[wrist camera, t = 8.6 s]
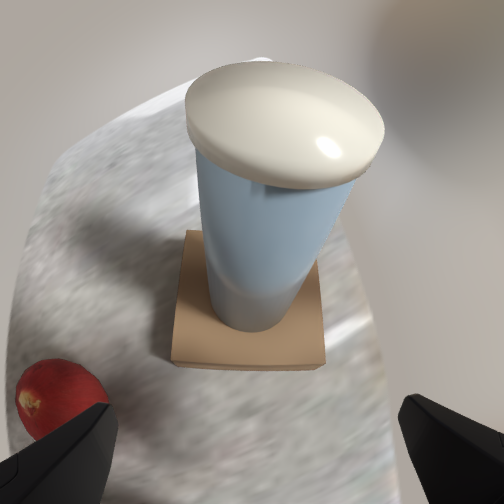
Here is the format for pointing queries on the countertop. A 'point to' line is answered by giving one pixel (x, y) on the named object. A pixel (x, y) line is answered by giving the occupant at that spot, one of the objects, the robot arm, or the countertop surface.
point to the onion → (55, 395)
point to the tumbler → (272, 178)
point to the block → (237, 342)
